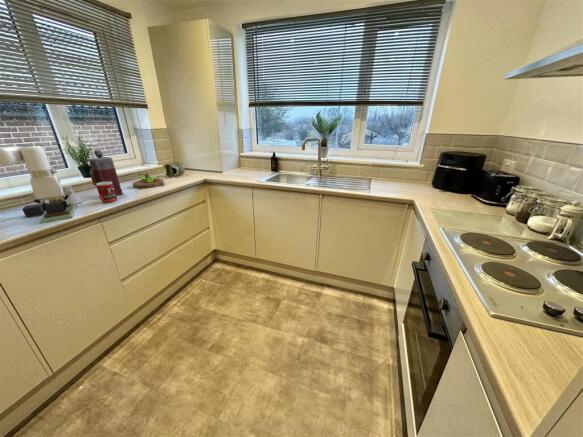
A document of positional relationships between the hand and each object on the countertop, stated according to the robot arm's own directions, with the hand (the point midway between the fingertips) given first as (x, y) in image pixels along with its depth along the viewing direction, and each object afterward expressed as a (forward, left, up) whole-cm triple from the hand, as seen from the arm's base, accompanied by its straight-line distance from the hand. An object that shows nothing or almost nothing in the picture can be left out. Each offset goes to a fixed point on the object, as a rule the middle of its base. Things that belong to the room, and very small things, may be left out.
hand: (56, 209), depth 118 cm
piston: (+67, +65, -3) cm, 93 cm away
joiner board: (0, +3, -3) cm, 5 cm away
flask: (+4, +23, -3) cm, 23 cm away
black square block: (0, 0, -1) cm, 1 cm away
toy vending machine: (+21, +29, -3) cm, 35 cm away
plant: (+45, +44, -3) cm, 63 cm away
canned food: (+21, +14, -3) cm, 25 cm away
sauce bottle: (-5, +34, -3) cm, 34 cm away
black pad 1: (-10, +11, -3) cm, 15 cm away
